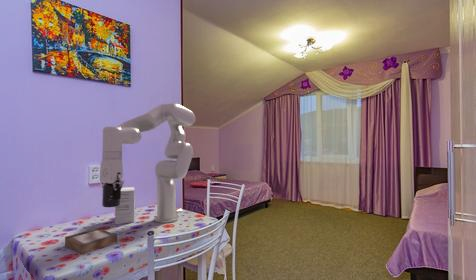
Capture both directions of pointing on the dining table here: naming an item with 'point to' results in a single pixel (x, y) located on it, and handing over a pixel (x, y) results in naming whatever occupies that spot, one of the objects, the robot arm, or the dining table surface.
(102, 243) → the dock
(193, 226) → the dining table surface
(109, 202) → the supplement bottle
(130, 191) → the supplement box
